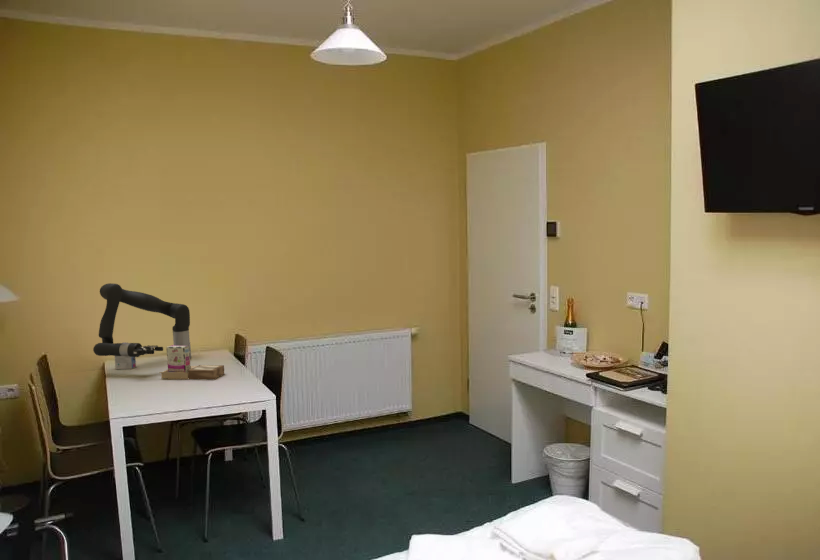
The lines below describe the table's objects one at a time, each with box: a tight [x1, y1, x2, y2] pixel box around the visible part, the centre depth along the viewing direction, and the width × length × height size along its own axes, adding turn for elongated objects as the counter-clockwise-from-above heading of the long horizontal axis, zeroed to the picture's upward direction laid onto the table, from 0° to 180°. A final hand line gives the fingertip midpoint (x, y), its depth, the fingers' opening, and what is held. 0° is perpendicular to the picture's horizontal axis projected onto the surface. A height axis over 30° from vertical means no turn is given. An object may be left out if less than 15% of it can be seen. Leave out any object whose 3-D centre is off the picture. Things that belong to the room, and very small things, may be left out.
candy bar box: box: [166, 344, 192, 373], centre depth 345 cm, size 11×5×16 cm, turn 73°
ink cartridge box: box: [114, 356, 137, 370], centre depth 368 cm, size 10×6×14 cm, turn 89°
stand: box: [188, 364, 225, 380], centre depth 343 cm, size 12×14×5 cm
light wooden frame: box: [159, 365, 198, 380], centre depth 345 cm, size 14×16×4 cm
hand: (158, 350), depth 346 cm, fingers open, 8 cm apart
